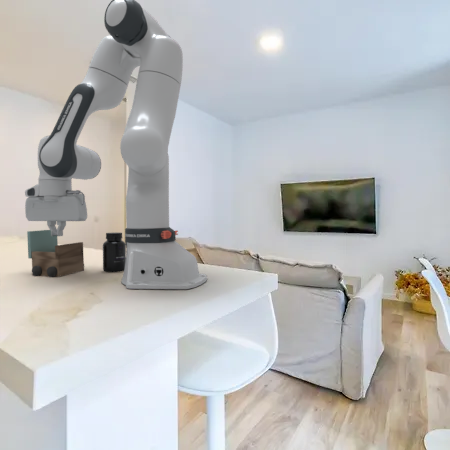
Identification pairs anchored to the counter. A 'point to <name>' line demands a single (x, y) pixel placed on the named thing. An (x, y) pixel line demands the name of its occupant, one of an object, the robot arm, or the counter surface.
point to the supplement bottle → (114, 253)
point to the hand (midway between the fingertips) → (57, 236)
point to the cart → (59, 261)
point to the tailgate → (41, 241)
